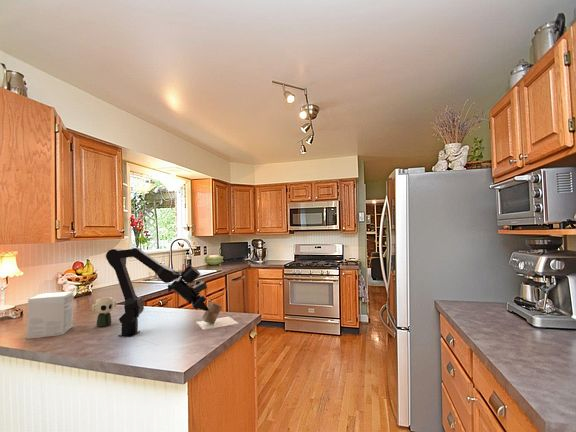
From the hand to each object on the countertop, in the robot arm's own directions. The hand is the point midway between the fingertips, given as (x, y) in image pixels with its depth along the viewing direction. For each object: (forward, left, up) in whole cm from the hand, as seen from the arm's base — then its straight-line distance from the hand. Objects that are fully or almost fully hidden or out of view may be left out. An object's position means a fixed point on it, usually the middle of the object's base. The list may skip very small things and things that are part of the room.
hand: (207, 310), depth 137 cm
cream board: (+3, -4, -7) cm, 9 cm away
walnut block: (0, 0, -6) cm, 6 cm away
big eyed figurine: (-5, +52, -8) cm, 53 cm away
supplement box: (-17, +69, -8) cm, 72 cm away
